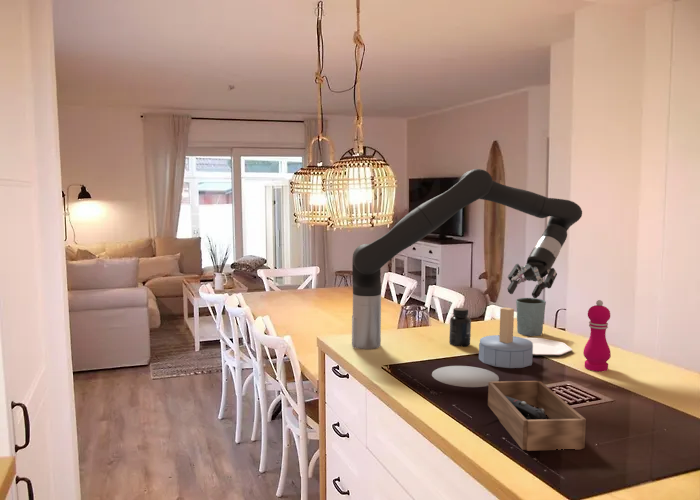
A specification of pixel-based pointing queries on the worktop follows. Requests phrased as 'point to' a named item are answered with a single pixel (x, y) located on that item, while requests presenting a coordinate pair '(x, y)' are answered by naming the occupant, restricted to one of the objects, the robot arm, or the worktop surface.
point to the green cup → (530, 316)
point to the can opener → (527, 409)
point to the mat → (464, 376)
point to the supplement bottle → (460, 328)
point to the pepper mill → (597, 339)
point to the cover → (506, 345)
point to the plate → (548, 347)
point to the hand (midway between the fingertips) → (521, 294)
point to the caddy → (540, 433)
